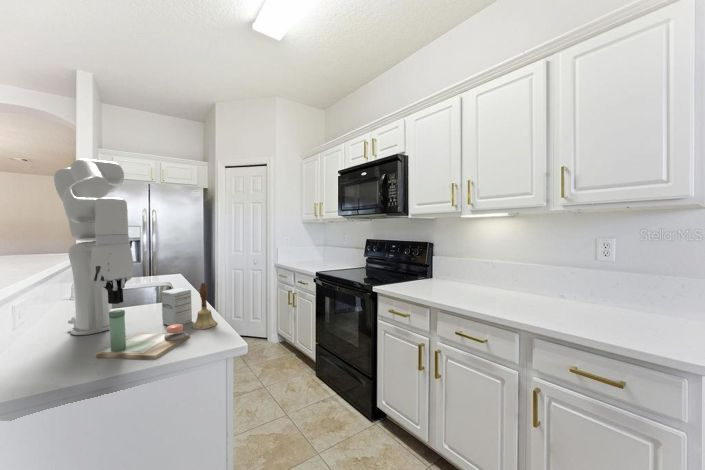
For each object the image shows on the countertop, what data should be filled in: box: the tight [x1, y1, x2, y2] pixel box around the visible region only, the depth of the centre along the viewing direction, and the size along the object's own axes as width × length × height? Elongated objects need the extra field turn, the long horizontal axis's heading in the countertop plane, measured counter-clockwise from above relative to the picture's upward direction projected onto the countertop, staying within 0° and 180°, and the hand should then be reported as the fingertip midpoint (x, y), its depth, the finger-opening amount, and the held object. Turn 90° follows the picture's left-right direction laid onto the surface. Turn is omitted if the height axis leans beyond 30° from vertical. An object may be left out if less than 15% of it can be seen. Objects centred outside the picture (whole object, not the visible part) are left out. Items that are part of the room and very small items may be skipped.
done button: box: [166, 324, 184, 333], centre depth 99 cm, size 5×5×1 cm
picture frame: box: [95, 330, 191, 360], centre depth 95 cm, size 18×16×2 cm
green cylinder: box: [108, 309, 127, 352], centre depth 90 cm, size 4×4×11 cm
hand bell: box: [192, 282, 218, 330], centre depth 113 cm, size 8×8×16 cm
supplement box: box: [161, 287, 193, 326], centre depth 116 cm, size 7×7×13 cm
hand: (115, 302), depth 90 cm, fingers closed
